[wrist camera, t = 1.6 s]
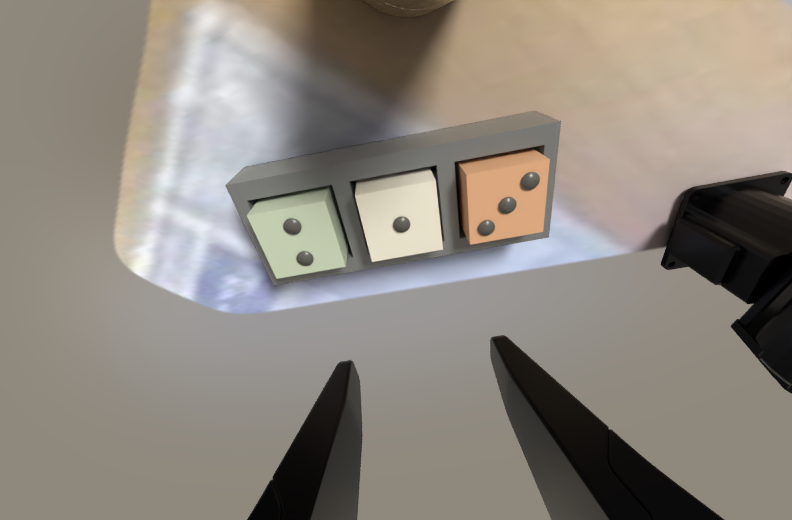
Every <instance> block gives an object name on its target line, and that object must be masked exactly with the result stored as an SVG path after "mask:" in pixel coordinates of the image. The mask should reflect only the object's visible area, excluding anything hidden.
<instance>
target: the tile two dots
mask: <svg viewBox="0 0 792 520" xmlns="http://www.w3.org/2000/svg"><path fill="white" fill-rule="evenodd" d="M247 217H248V219H249V222H250V224H251V226H252V228H253V230H254V232H255V234H256V236H257V239H258V241H259V243H260V245H261V247H262V249H263V251H264V253H265V255H266V258H267V260H268V262H269V264H270V266H271V268H272V270H273V272H274V274H275V277H276V279H278V278H284V277H290V276H296V275H301V274H307V273H313V272H318V271H324V270H330V269H335V268H341V267H346V260H347V252H348V240H347V237H346V234H345V230H344V227H343V223H342V220H341V217H340V213H339V210H338V207H337V203H336V200H335V196H334V193H333V190H332V186H331V185H328V186H323V187H318V188H312V189H307V190H302V191H296V192H291V193H286V194H280V195H275V196H270V197H264V198H259V200H258V201H257V202H256V204H255V205H254V207H253V208H252V209H251V211H250V212H249V213H248V215H247Z"/></svg>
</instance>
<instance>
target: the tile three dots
mask: <svg viewBox="0 0 792 520" xmlns="http://www.w3.org/2000/svg"><path fill="white" fill-rule="evenodd" d="M549 163H550V159H549V158H547V157H546V156H544V155H542V154H541V153H539V152H538V151H536V150H535V149H533V148H532V147H530V148H525V149H520V150H514V151H509V152H504V153H498V154H493V155H488V156H482V157H477V158H472V159H466V160H461V161H456V174H457V188H458V203H459V217H460V225H461V227H462V229H463V231H464V233H465V235H466V237H467V239H468V241H469V244H470V245H471V244H477V243H483V242H488V241H494V240H500V239H505V238H511V237H517V236H522V235H528V234H534V233H539V232H543V228H544V217H545V206H546V196H547V185H548V174H549Z"/></svg>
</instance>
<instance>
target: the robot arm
mask: <svg viewBox="0 0 792 520" xmlns="http://www.w3.org/2000/svg"><path fill="white" fill-rule="evenodd" d="M791 181H792V173H789V172H786V171H780V172H774V173H768V174H763V175H757V176H752V177H746V178H740V179H735V180H729V181H724V182H718V183H712V184H707V185H701V186H696V187H692V188H690V189H689V190H688V191H687V192H686V193H685V195H684V198H683V200H682V203H681V206H680V209H679V212H678V215H677V218H676V221H675V224H674V227H673V229H672V232H671V235H670V238H669V241H668V244H667V247H666V250H665V253H664V256H663V258H662V261H661V266H663V267H664V268H665V269H667V270H671V269H677V268H683V267H690V268H691V269H693V270H694V271H696V272H697V273H699V274H700V275H701V276H703V277H704V278H706V279H707V280H709V281H710V282H711V283H713V284H715V285H721V286H722V287H724V288H725V289H726V290H728V291H729V292H731V293H732V294H734V295H735V296H737V297H738V298H740V299H741V300H743V301H744V302H745V303H747V304H753V303H754V304H753V305H752V306H751V307H750V308H749V310H748V311H747V312H746V313H745V314H744V315H743V316H742V317H741V318H740V319H737V320H736V321H735V322H734V323H733V324H732V325H731V327H732V329H733V330H734V331H735V332H736V333H737V335H738V336H739V337H740V338H741V339H742V341H743V342H744V343H745V344H746V345H747V346H748V348H749V349H750V350H751V351H752V352H753V354H754V355H755V356H756V357H757V358H758V359H759V361H760V362H761V363H762V364H763V365H764V367H765V368H766V369H767V370H768V371H769V373H770V374H771V375H772V376H773V377H774V378H775V379H776V380H777V381H778V383H779V384H780V385H781V386H782V387H783V388H784V389H785V390H787V391H788V392H790V393H792V200H791V199H788V198H786V197H783V196H784V194H785V193H786V191H787V189H788V187H789V185H790V183H791ZM490 347H491V348H490V354H491V361H492V365H493V368H494V372H495V375H496V378H497V382H498V385H499V389H500V392H501V396H502V399H503V402H504V406H505V409H506V412H507V415H508V417H509V420H510V422H511V425H512V427H513V429H514V432H515V434H516V436H517V439H518V441H519V444H520V446H521V448H522V451H523V453H524V455H525V458H526V460H527V462H528V465H529V467H530V470H531V472H532V474H533V477H534V479H535V482H536V484H537V486H538V489H539V491H540V493H541V496H542V498H543V501H544V503H545V505H546V508H547V510H548V512H549V515H550V517H551V519H552V520H724V519H723V518H721V517H720V516H719V515H717V514H716V513H715V512H714V511H712V510H711V509H710V508H708V507H707V506H706V505H704V504H703V503H701V502H700V501H699V500H698V499H696V498H695V497H694V496H692V495H691V494H690V493H688V492H687V491H686V490H684V489H683V488H682V487H680V486H679V485H678V484H677V483H675V482H674V481H673V480H671V479H670V478H669V477H667V476H666V475H665V474H664V473H662V472H661V471H660V470H659V469H657V468H656V467H655V466H653V465H652V464H651V463H650V462H648V461H647V460H646V459H645V458H644V457H642V456H641V455H640V454H639V453H638V452H637V451H635V450H634V449H633V448H632V447H631V446H629V445H628V444H627V443H626V442H625V441H624V440H623V439H621V438H620V437H619V436H618V435H617V434H616V433H615V432H613V430H611V429H610V430H609V429H608V426H607V425H606V424H604V423H603V422H602V421H601V420H600V419H599V418H598V417H597V416H595V415H594V414H593V413H592V412H591V411H590V410H589V409H588V408H586V407H585V406H584V405H583V404H582V403H581V402H580V401H579V400H577V399H576V398H575V397H574V396H573V395H572V394H571V393H570V392H568V391H567V390H566V389H565V388H564V387H563V386H561V385H560V384H559V383H558V382H557V381H556V380H555V379H554V378H552V377H551V376H550V375H549V374H548V373H547V372H546V371H545V370H543V369H542V368H541V367H540V366H539V365H538V364H537V363H536V362H534V361H533V360H532V359H531V358H530V357H529V356H528V355H527V354H526V353H524V352H523V351H522V350H521V349H520V348H519V347H518V346H517V345H515V344H514V343H513V342H512V341H511V340H510V339H509V338H507V337H506V336H504V335H501V336H495V337H492V338H491V340H490ZM361 451H362V414H361V393H360V380H359V376H358V373H357V371H356V368H355V365H354V363H353V361H351V360H349V361H342V362H340V363H338V364H337V366H336V368H335V370H334V371H333V373H332V375H331V377H330V378H329V380H328V382H327V383H326V385H325V387H324V388H323V390H322V392H321V394H320V395H319V397H318V399H317V401H316V402H315V404H314V406H313V408H312V409H311V411H310V413H309V415H308V416H307V418H306V420H305V422H304V424H303V425H302V427H301V428H300V430H299V432H298V434H297V435H296V437H295V439H294V441H293V442H292V444H291V446H290V448H289V450H288V451H287V453H286V455H285V456H284V458H283V460H282V461H281V463H280V465H279V467H278V468H277V470H276V472H275V474H274V476H273V480H271V481H270V482H269V484H268V486H267V487H266V489H265V491H264V493H263V494H262V496H261V498H260V499H259V501H258V503H257V504H256V506H255V508H254V509H253V511H252V513H251V514H250V516H249V517H248V519H247V520H357V513H358V497H359V481H360V467H361Z"/></svg>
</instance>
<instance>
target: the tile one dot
mask: <svg viewBox="0 0 792 520" xmlns="http://www.w3.org/2000/svg"><path fill="white" fill-rule="evenodd" d="M355 198H356V202H357V206H358V210H359V213H360V217H361V221H362V225H363V229H364V233H365V237H366V241H367V244H368V248H369V252H370V256H371V260H372V262H375V261H381V260H386V259H392V258H398V257H403V256H409V255H415V254H420V253H426V252H432V251H437V250H443V244H442V235H441V225H440V216H439V207H438V197H437V188H436V180H435V178H434V176H433V174H432V171H431V169H430V167H424V168H419V169H413V170H408V171H403V172H397V173H392V174H387V175H381V176H376V177H371V178H365V179H360V180H357V182H356V191H355Z"/></svg>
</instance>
